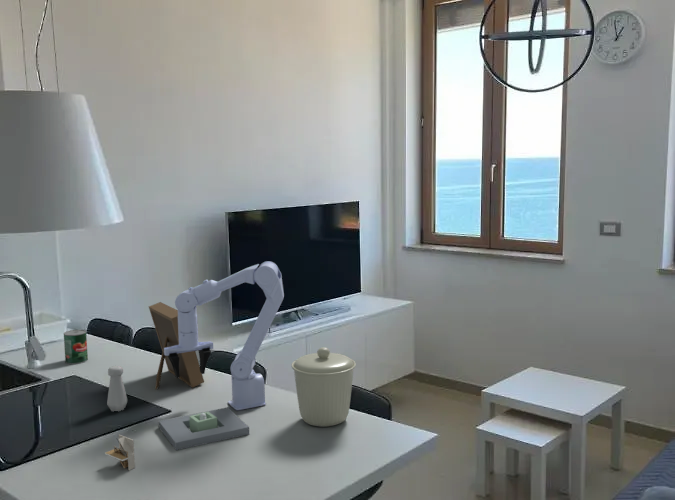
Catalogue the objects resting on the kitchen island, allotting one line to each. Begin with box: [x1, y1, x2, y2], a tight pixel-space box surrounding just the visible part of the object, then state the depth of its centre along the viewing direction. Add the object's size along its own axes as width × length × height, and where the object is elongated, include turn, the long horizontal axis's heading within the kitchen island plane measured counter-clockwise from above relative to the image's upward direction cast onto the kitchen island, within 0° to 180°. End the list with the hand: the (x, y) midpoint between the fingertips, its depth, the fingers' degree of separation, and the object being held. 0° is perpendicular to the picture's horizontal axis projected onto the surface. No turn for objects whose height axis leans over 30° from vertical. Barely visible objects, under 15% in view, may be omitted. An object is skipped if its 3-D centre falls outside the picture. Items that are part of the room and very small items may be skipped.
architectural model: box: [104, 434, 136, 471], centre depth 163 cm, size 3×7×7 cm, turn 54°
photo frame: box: [148, 301, 205, 391], centre depth 226 cm, size 15×22×25 cm
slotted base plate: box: [158, 407, 250, 451], centre depth 185 cm, size 20×17×5 cm
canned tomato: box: [63, 329, 89, 365], centre depth 251 cm, size 8×8×11 cm
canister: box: [291, 346, 357, 427], centre depth 190 cm, size 18×18×21 cm
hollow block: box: [189, 411, 218, 433], centre depth 185 cm, size 6×6×4 cm
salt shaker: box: [106, 365, 128, 412], centre depth 201 cm, size 6×6×13 cm
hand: (190, 375), depth 203 cm, fingers open, 7 cm apart
